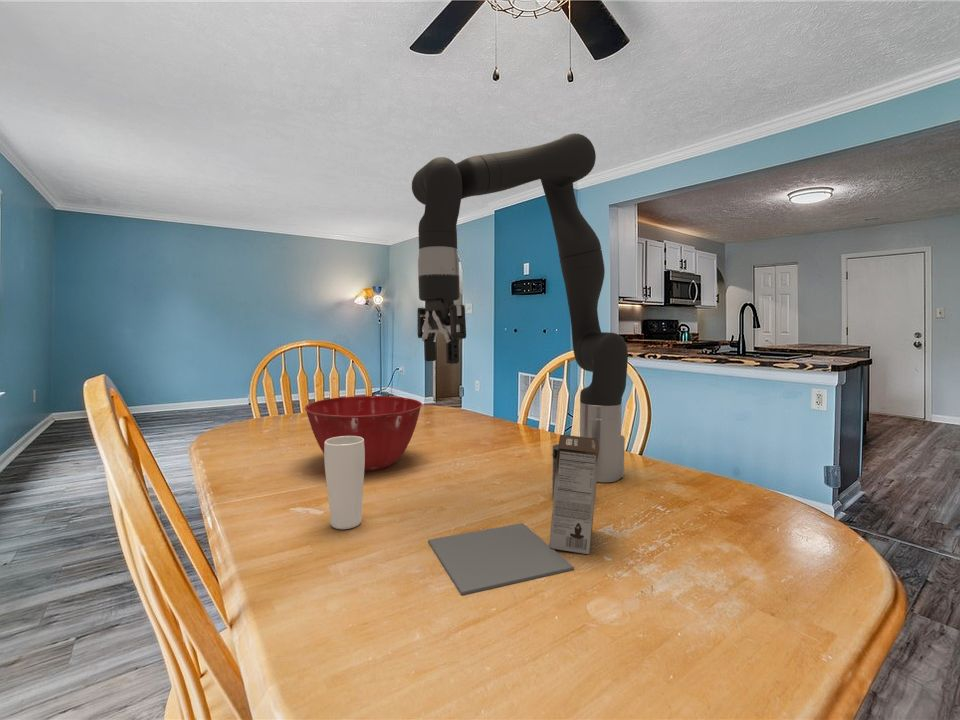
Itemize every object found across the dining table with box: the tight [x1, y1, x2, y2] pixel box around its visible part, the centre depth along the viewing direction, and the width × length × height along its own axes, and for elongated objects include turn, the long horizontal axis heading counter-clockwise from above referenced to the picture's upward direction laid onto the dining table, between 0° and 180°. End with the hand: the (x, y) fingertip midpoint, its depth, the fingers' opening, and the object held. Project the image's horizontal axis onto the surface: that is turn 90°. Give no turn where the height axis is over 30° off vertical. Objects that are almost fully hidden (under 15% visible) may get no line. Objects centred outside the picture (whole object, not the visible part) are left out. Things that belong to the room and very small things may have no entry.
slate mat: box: [427, 522, 575, 596], centre depth 70 cm, size 17×16×1 cm
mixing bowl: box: [304, 395, 423, 473], centre depth 117 cm, size 28×28×16 cm
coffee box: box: [549, 434, 599, 555], centre depth 75 cm, size 9×6×16 cm
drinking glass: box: [323, 436, 365, 530], centre depth 81 cm, size 7×7×15 cm
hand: (441, 362), depth 87 cm, fingers open, 8 cm apart
